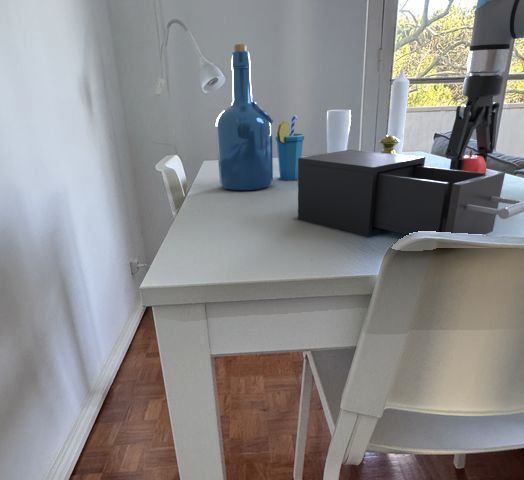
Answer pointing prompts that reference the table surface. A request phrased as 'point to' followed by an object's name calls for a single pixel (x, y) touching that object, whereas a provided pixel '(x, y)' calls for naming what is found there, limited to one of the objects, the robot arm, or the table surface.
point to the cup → (288, 150)
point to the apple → (474, 163)
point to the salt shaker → (388, 144)
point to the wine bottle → (244, 134)
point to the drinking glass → (337, 130)
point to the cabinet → (344, 187)
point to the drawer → (440, 200)
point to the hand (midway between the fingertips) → (464, 186)
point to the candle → (398, 109)
